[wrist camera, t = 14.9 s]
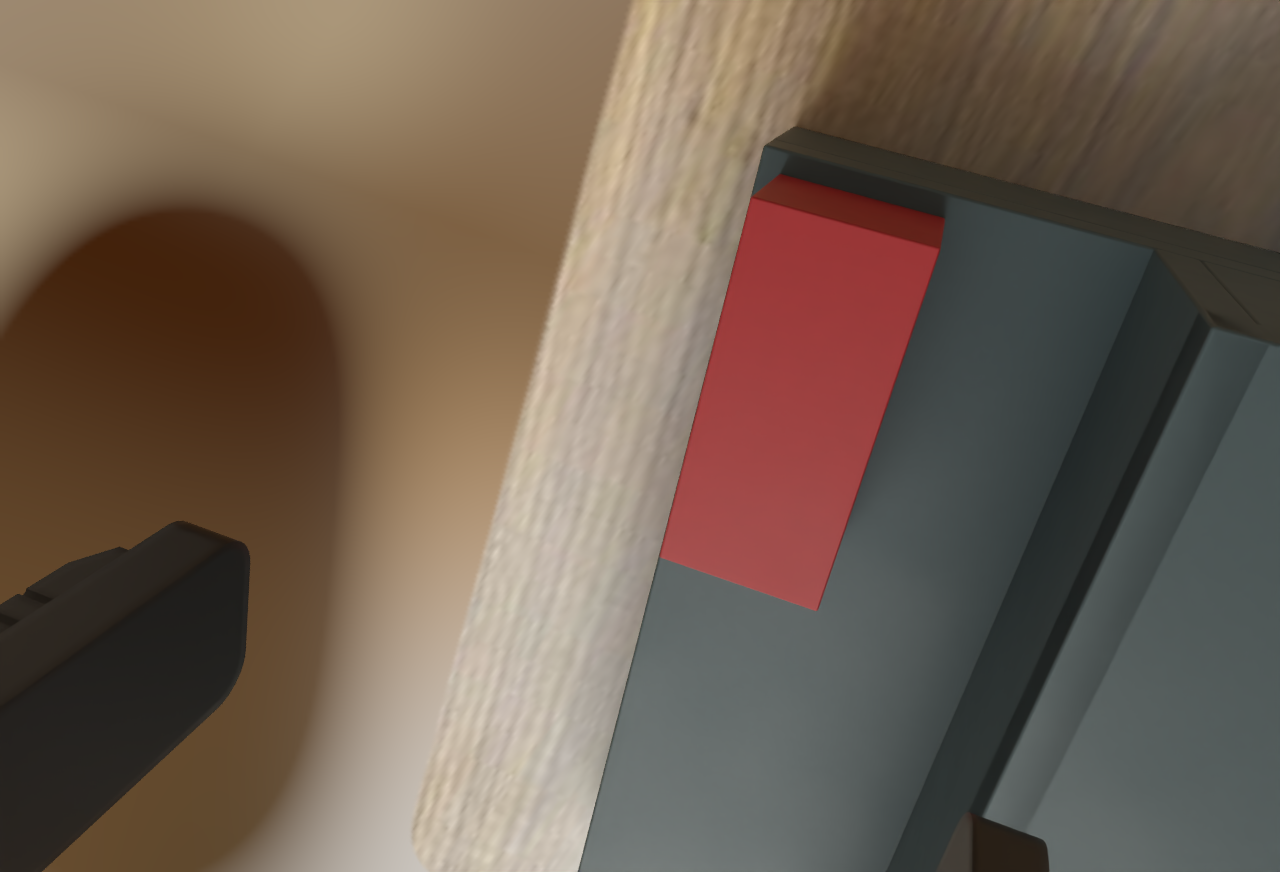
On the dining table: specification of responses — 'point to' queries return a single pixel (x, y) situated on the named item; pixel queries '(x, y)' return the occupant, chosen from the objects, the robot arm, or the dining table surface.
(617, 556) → the dining table surface
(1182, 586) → the shelf
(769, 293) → the red rectangular block
